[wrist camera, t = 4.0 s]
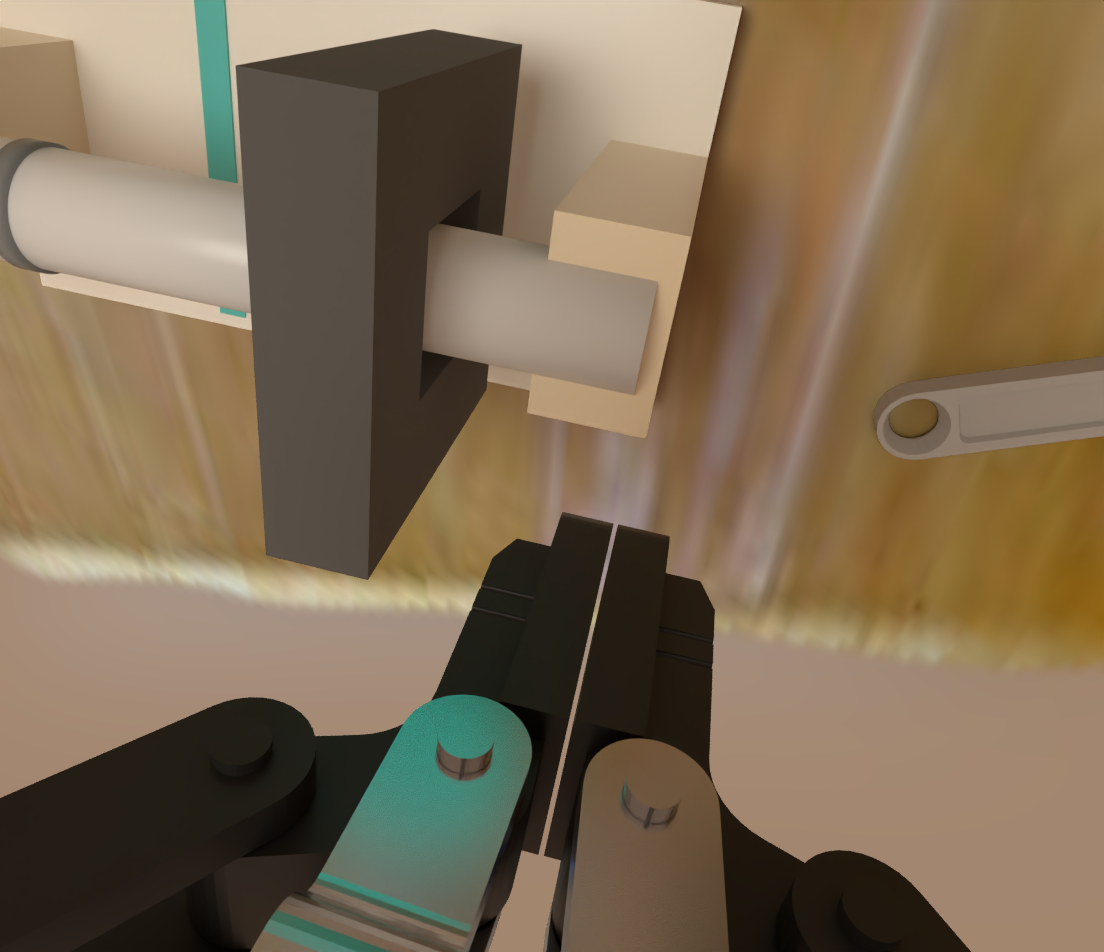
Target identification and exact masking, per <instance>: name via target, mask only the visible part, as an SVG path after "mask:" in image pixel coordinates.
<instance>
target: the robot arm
mask: <svg viewBox="0 0 1104 952" xmlns="http://www.w3.org/2000/svg"><path fill="white" fill-rule="evenodd" d="M612 528H613V523H608V522H604V521H600V520H595V519H591V518H587V517H582V516H578V515H574V514H569V513H565V512H563V513H562V515H561V517H560V520H559V523H558V526H557V530H556V533H555V536H554V539H553V542H552V545H551V547H550V546H546V545H542V544H538V543H533V542H529V541H525V540H521V539H516V540H515V541H513V542H512V543H511V544H510V545H508V546H507V547H506V548H504V549H503V550H502V551H501V552H499V553H498V554H497V555H496V556H494V557H493V558H492V561H491V563H490V565H489V568H488V570H487V572H486V575H485V577H484V580H483V582H482V585H481V589H479V591H478V594H477V596H476V599H475V601H474V603H473V606H472V610H471V611H470V613H469V615H468V617H467V620H466V622H465V625H464V627H463V629H462V632H461V634H460V636H459V639H458V641H457V644H456V646H455V648H454V651H453V653H452V655H451V658H450V660H449V662H448V665H447V667H446V670H445V672H444V675H443V677H442V679H441V682H440V684H439V686H438V689H437V691H436V693H435V695H434V697H433V699H432V700H431V701H430V702H428V703H426V704H424V705H422V706H421V707H420V708H418V709H417V710H415V711H414V712H413V713H412V714H411V715H410V716H409V717H408V718H407V720H406V721H405V723H404V724H402V725H400V726H398V727H396V728H393V729H390V730H387V731H384V732H379V733H374V734H365V735H344V736H315V735H314V732H313V728H312V727H311V725H310V723H309V721H308V720H307V719H306V718H305V717H304V716H303V715H302V713H300V712H299V711H298V710H296V709H295V708H294V707H292V706H290V705H287V704H285V703H283V702H280V701H276V700H273V699H267V698H251V697H249V698H240V699H234V700H230V701H226V702H222V703H220V704H217V705H214V706H212V707H209V708H207V709H205V710H202V711H200V712H198V713H196V714H193V715H191V716H189V717H186V718H184V719H182V720H179V721H177V722H175V723H172V724H170V725H168V726H166V727H163V728H161V729H159V730H156V731H154V732H152V733H149V734H147V735H145V736H142V737H140V738H138V739H136V740H133V741H131V742H129V743H126V744H124V745H122V746H119V747H117V748H115V749H112V750H110V751H108V752H106V753H103V754H101V755H99V756H96V757H94V758H92V759H89V760H87V761H85V762H83V763H80V764H78V765H75V766H73V767H71V768H69V769H66V770H64V771H62V772H59V773H57V774H55V775H53V776H50V777H48V778H46V779H43V780H41V781H39V782H36V783H34V784H32V785H30V786H27V787H25V788H22V789H20V790H18V791H16V792H13V793H11V794H9V795H7V796H4V797H2V798H0V952H488V951H489V948H490V946H491V943H492V940H493V936H494V933H495V930H496V928H497V925H498V921H499V919H500V915H501V911H502V908H503V907H504V905H505V904H506V902H507V900H508V898H509V896H510V893H511V890H512V887H513V883H514V879H515V874H516V870H517V866H518V862H519V858H520V854H521V850H523V851H527V852H530V853H534V854H539V849H540V845H541V841H542V836H543V831H544V827H545V822H546V819H547V814H548V810H549V805H550V801H551V797H552V792H553V788H554V783H555V779H556V775H557V770H558V766H559V761H560V757H561V752H562V748H563V743H564V740H565V735H566V730H567V726H568V722H569V718H570V713H571V709H572V704H573V700H574V695H575V691H576V687H577V683H578V678H579V674H580V669H581V665H582V661H583V656H584V652H585V647H586V643H587V639H588V634H589V630H590V625H591V621H592V617H593V612H594V608H595V603H596V599H597V594H598V590H599V586H600V581H601V577H602V572H603V568H604V563H605V559H606V554H607V550H608V546H609V541H610V537H611V532H612ZM669 539H670V537H669V536H666V535H662V534H657V533H653V532H648V531H644V530H640V529H635V528H631V527H627V526H622V525H618V527H617V532H616V536H615V540H614V545H613V549H612V553H611V558H610V562H609V566H608V571H607V575H606V579H605V584H604V588H603V592H602V597H601V601H600V606H599V610H598V614H597V619H596V623H595V628H594V632H593V636H592V641H591V645H590V650H589V654H588V659H587V664H586V668H585V673H584V677H583V682H582V686H581V691H580V695H579V700H578V704H577V709H576V714H575V718H574V722H573V727H572V732H571V736H570V741H569V745H568V749H567V754H566V758H565V764H564V768H563V772H562V777H561V781H560V786H559V790H558V795H557V799H556V804H555V808H554V813H553V818H552V822H551V826H550V831H549V835H548V840H547V844H546V849H545V854H544V856H547V857H551V858H555V859H558V860H561V863H560V868H559V873H558V878H557V883H556V888H555V893H554V898H553V902H552V906H551V910H550V914H549V918H548V922H547V927H546V932H545V940H544V948H543V952H971V951H970V950H969V949H968V948H967V947H966V945H965V944H964V943H963V942H962V941H961V940H960V938H959V937H958V936H957V935H956V934H955V933H954V932H953V930H952V929H951V928H950V927H949V926H948V924H947V923H946V922H945V921H944V920H943V919H942V917H941V916H940V915H939V914H938V913H937V912H936V911H935V909H934V908H933V907H932V906H931V905H930V904H929V902H928V901H927V900H926V899H925V898H924V897H923V895H922V894H921V893H920V892H919V891H918V890H917V889H916V888H915V887H914V886H913V885H912V884H911V883H910V882H909V881H908V880H907V879H906V878H905V877H903V876H902V875H901V874H900V873H899V872H897V871H895V870H894V869H893V868H891V867H889V866H888V865H886V864H885V863H883V862H881V861H879V860H877V859H874V858H872V857H869V856H866V855H864V854H861V853H856V852H852V851H841V850H836V851H828V852H824V853H821V854H818V855H816V856H814V857H812V858H811V859H809V860H808V861H807V862H806V863H804V862H802V861H800V860H799V859H797V858H795V857H794V856H792V855H790V854H788V853H787V852H785V851H783V850H781V849H780V848H778V847H776V846H774V845H773V844H771V843H769V842H767V841H766V840H764V839H762V838H761V837H759V836H758V835H756V834H755V833H753V832H751V831H750V830H749V829H748V828H747V827H745V826H744V825H743V824H742V823H741V822H740V821H739V820H738V819H737V818H736V817H735V816H734V815H733V814H732V813H731V812H730V811H729V809H728V808H727V807H726V805H725V804H724V803H723V802H722V800H721V798H720V796H719V794H718V793H717V791H716V789H715V786H714V784H713V781H712V778H711V773H710V767H709V749H710V723H711V722H710V721H711V695H712V664H713V645H712V644H713V639H714V615H715V610H714V608H713V606H712V604H711V602H710V600H709V598H708V596H707V594H706V592H705V590H704V588H703V586H702V584H701V582H700V581H697V580H693V579H688V578H684V577H680V576H675V575H671V574H667V573H666V565H667V557H668V549H669Z"/></svg>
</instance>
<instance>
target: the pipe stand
mask: <svg viewBox="0 0 1104 952" xmlns="http://www.w3.org/2000/svg"><path fill="white" fill-rule="evenodd" d="M741 11H742V6H741V5H735V4H729V3H723V2H717V1H711V0H0V260H3V261H7V262H8V263H10V264H12V265H14V266H16V267H18V268H21V269H26V270H30V271H35V272H40V277H41V282H42V285H44V286H48V287H53V288H57V289H62V290H67V291H71V292H76V293H81V294H85V295H90V296H95V297H99V298H104V299H108V300H113V301H118V302H122V303H127V304H132V305H136V306H141V307H146V308H150V309H155V310H159V311H164V312H169V313H173V314H178V315H183V316H187V317H192V318H197V319H201V320H206V321H210V322H215V323H220V324H224V325H229V326H234V327H238V328H243V329H247V330H252V322H251V306H250V290H249V274H248V258H247V242H246V226H245V210H244V195H243V179H242V163H241V147H240V131H239V115H238V99H237V83H236V67H235V66H236V65H241V64H246V63H252V62H257V61H263V60H268V59H274V58H279V57H284V56H290V55H295V54H301V53H306V52H311V51H317V50H322V49H328V48H333V47H338V46H344V45H349V44H355V43H360V42H365V41H371V40H376V39H382V38H387V37H393V36H398V35H403V34H409V33H414V32H420V31H425V30H430V29H436V30H442V31H447V32H453V33H459V34H465V35H470V36H476V37H482V38H487V39H493V40H499V41H504V42H510V43H516V44H522V53H521V63H520V72H519V82H518V91H517V101H516V110H515V120H514V130H513V139H512V149H511V158H510V168H509V177H508V187H507V196H506V206H505V216H504V225H503V235H502V236H499V235H494V234H489V233H484V232H479V231H474V230H469V229H464V228H459V227H454V226H449V225H444V224H439V223H438V224H437V225H436V226H435V227H433V228H432V229H431V230H430V231H429V239H428V257H427V274H426V292H425V310H424V328H423V345H422V350H424V351H428V352H433V353H438V354H442V355H447V356H452V357H456V358H461V359H466V360H470V361H475V362H480V363H484V364H489V368H488V378H487V381H488V382H493V383H498V384H502V385H507V386H512V387H516V388H521V389H525V390H530V394H529V401H528V408H527V413H530V414H535V415H539V416H544V417H548V418H553V419H558V420H562V421H567V422H571V423H576V424H580V425H585V426H590V427H594V428H599V429H603V430H608V431H612V432H617V433H622V434H626V435H631V436H635V437H640V438H645V439H646V435H647V431H648V426H649V422H650V418H651V413H652V409H653V404H654V400H655V396H656V391H657V387H658V383H659V378H660V374H661V369H662V365H663V361H664V356H665V352H666V348H667V343H668V339H669V334H670V330H671V326H672V321H673V317H674V313H675V308H676V304H677V299H678V295H679V291H680V286H681V282H682V278H683V273H684V269H685V264H686V260H687V256H688V251H689V247H690V243H691V238H692V234H693V229H694V224H695V219H696V214H697V209H698V204H699V199H700V195H701V190H702V185H703V180H704V175H705V170H706V165H707V161H708V156H709V152H710V147H711V143H712V138H713V134H714V130H715V125H716V121H717V116H718V112H719V108H720V103H721V99H722V94H723V90H724V86H725V81H726V77H727V72H728V68H729V64H730V59H731V55H732V50H733V46H734V42H735V37H736V33H737V28H738V24H739V20H740V15H741Z"/></svg>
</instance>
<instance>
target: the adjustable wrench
mask: <svg viewBox="0 0 1104 952" xmlns="http://www.w3.org/2000/svg"><path fill="white" fill-rule="evenodd" d="M913 399H928V400H929V401H931V402H932V403H934V405H935V406H936V408H937V409H938V413H939V418H938V423H937V425H936V426H935V427H934V428H933V429H932V430H931V431H930V432H928V433H926V434H924V435H923V436H919V437H915V438H904V437H900V436H898V435H896V434H895V433H894V432H893V431H892V430H891V428H890V425H889V415H890V413H891V411H892V410H893V409H894V408H895V407H896V406H898V405H900V404H901V403H903V402H906V401H909V400H913ZM874 424H875V428H876V432H877V435H878V439H879V442H880V444H881V445H882V446H883V447H884V449H885V450H886V451H887V452H889V453H891V454H892V455H894V456H895V457H899V458H903V459H906V460H920V459H928V458H936V457H944V456H952V455H959V454H967V453H975V452H983V451H991V450H998V449H1006V448H1014V447H1022V446H1030V445H1038V444H1045V443H1053V442H1061V441H1069V440H1077V439H1085V438H1092V437H1100V436H1104V356H1100V357H1092V358H1085V359H1077V360H1069V361H1062V362H1054V363H1047V364H1039V365H1032V366H1024V367H1017V368H1009V369H1001V370H994V371H986V372H979V373H971V374H964V375H956V376H948V377H941V378H933V379H926V380H918V381H911V382H907V383H903V384H900V385H897V386H895V387H894V388H892V389H890V390H889V391H887V392H886V393H885V394H884V395H883V396H882V397H881V398H880V400H879V401H878V403H877V405H876V408H875V410H874Z"/></svg>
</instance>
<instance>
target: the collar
mask: <svg viewBox="0 0 1104 952" xmlns="http://www.w3.org/2000/svg"><path fill="white" fill-rule="evenodd" d="M521 53H522V44H516V43H510V42H504V41H499V40H493V39H487V38H482V37H476V36H470V35H465V34H459V33H453V32H447V31H442V30H436V29H430V30H425V31H420V32H414V33H409V34H403V35H398V36H393V37H387V38H382V39H376V40H371V41H365V42H360V43H355V44H349V45H344V46H338V47H333V48H328V49H322V50H317V51H311V52H306V53H301V54H295V55H290V56H284V57H279V58H274V59H268V60H263V61H257V62H252V63H246V64H241V65H236V66H235V67H236V83H237V99H238V115H239V131H240V147H241V163H242V179H243V195H244V210H245V226H246V242H247V258H248V274H249V290H250V306H251V322H252V338H253V354H254V370H255V386H256V402H257V418H258V434H259V450H260V465H261V481H262V497H263V513H264V529H265V545H266V555H267V556H271V557H276V558H280V559H284V560H288V561H292V562H296V563H300V564H304V565H309V566H313V567H317V568H321V569H325V570H329V571H333V572H337V573H342V574H346V575H350V576H354V577H358V578H362V579H366V580H368V579H369V577H370V576H371V574H372V572H373V571H374V569H375V568H376V566H377V564H378V563H379V561H380V560H381V558H382V556H383V555H384V553H385V552H386V550H387V548H388V547H389V545H390V544H391V542H392V540H393V539H394V537H395V535H396V534H397V532H398V531H399V529H400V527H401V526H402V524H403V523H404V521H405V519H406V518H407V516H408V515H409V513H410V511H411V510H412V508H413V507H414V505H415V503H416V502H417V500H418V499H419V497H420V495H421V494H422V492H423V490H424V489H425V487H426V486H427V484H428V482H429V481H430V479H431V478H432V476H433V474H434V473H435V471H436V470H437V468H438V466H439V465H440V463H441V462H442V460H443V458H444V457H445V455H446V453H447V452H448V450H449V449H450V447H451V445H452V444H453V442H454V441H455V439H456V437H457V436H458V434H459V433H460V431H461V429H462V428H463V426H464V425H465V423H466V421H467V420H468V418H469V416H470V415H471V413H472V412H473V410H474V408H475V407H476V405H477V404H478V402H479V400H480V399H481V397H482V396H483V394H484V392H485V391H486V387H487V378H488V368H489V364H484V363H480V362H475V361H470V360H466V359H461V358H456V357H452V356H447V355H442V354H438V353H433V352H428V351H424V350H422V345H423V328H424V310H425V292H426V274H427V257H428V239H429V231H430V230H431V229H432V228H433V227H435V226H436V225H437V224H438V223H439V224H444V225H449V226H454V227H459V228H464V229H469V230H474V231H479V232H484V233H489V234H494V235H499V236H502V235H503V225H504V216H505V206H506V196H507V187H508V177H509V168H510V158H511V149H512V139H513V130H514V120H515V110H516V101H517V91H518V82H519V72H520V63H521Z"/></svg>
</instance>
